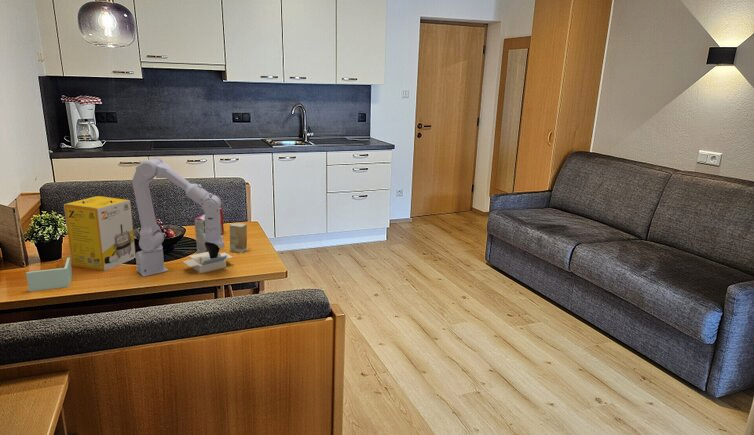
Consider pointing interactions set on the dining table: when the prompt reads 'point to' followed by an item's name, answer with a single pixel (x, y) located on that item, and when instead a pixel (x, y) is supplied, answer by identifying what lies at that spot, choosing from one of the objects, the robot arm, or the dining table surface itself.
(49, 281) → the l-shaped corner panel
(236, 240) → the skincare box
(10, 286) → the dining table surface
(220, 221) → the soda can
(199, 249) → the candy bar box
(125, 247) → the packaging box
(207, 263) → the flap
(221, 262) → the carton
